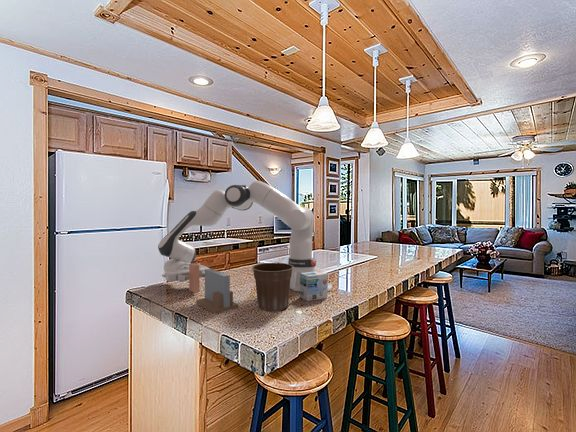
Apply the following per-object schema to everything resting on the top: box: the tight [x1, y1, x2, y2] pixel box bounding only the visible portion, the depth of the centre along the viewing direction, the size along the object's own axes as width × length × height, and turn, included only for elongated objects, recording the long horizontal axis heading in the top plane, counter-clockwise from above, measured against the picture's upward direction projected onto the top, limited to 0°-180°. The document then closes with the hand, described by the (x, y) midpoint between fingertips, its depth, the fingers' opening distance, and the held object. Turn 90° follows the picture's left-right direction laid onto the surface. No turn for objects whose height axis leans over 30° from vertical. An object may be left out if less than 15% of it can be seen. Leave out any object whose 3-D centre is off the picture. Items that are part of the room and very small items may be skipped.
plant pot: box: [251, 262, 293, 312], centre depth 129 cm, size 16×16×16 cm
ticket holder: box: [195, 268, 239, 315], centre depth 130 cm, size 16×10×14 cm, turn 41°
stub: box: [188, 262, 200, 294], centre depth 146 cm, size 5×2×12 cm, turn 41°
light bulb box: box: [299, 270, 329, 302], centre depth 142 cm, size 11×7×11 cm, turn 117°
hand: (195, 276), depth 145 cm, fingers open, 8 cm apart
